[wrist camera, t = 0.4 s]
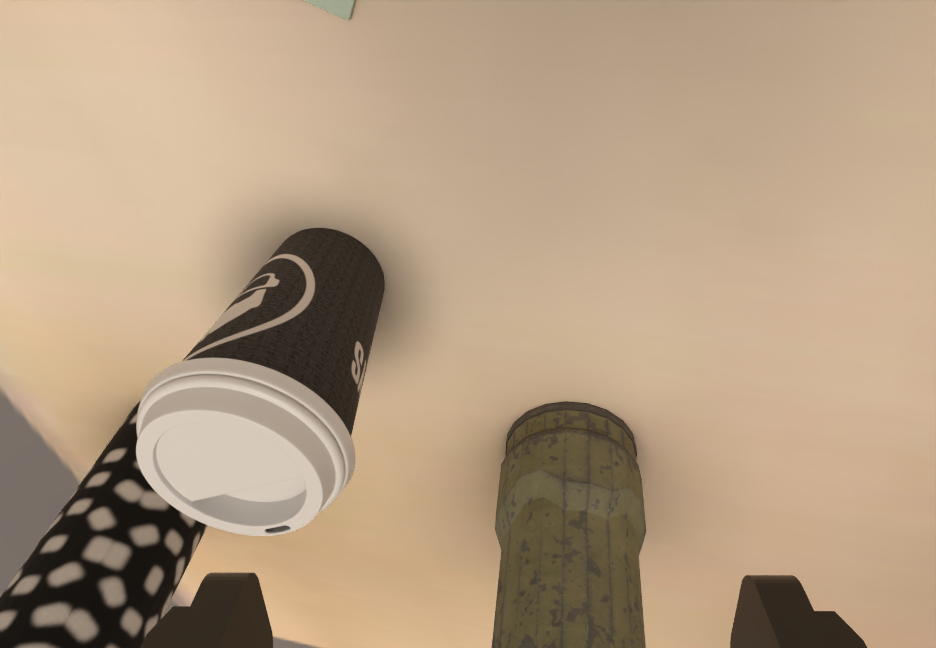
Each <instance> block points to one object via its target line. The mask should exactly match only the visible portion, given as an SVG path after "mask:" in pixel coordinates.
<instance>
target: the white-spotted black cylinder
mask: <svg viewBox="0 0 936 648" xmlns="http://www.w3.org/2000/svg"><path fill="white" fill-rule="evenodd" d="M140 402H141V401H140ZM140 402H139V403H138V404H137V405H136V406H135V407H134V408H133V410H132V411H131V413H130V414H129V416H128V417H127V418H126V420H125V421H124V423H123V424H122V425H121V427H120V428H119V430H118V431H117V433H116V434H115V435H114V437H113V438H112V440H111V441H110V443H109V444H108V445H107V447H106V448H105V450H104V451H103V452H102V454H101V455H100V457H99V458H98V460H97V461H96V462H95V464H94V465H93V467H92V468H91V469H90V471H89V472H88V474H87V475H86V477H85V478H84V479H83V481H82V482H81V484H80V485H79V486H78V488H77V489H76V491H75V492H74V494H73V495H72V497H71V498H70V499H69V501H68V502H67V504H66V505H65V506H64V508H63V509H62V511H61V512H60V513H59V515H58V516H57V518H56V519H55V521H54V522H53V523H52V525H51V526H50V528H49V529H48V530H47V532H46V533H45V535H44V536H43V538H42V539H41V540H40V542H39V543H38V545H37V546H36V548H35V549H34V550H33V552H32V553H31V555H30V556H29V557H28V559H27V560H26V562H25V563H24V564H23V566H22V567H21V569H20V570H19V572H18V573H17V574H16V576H15V577H14V579H13V580H12V582H11V583H10V584H9V586H8V587H7V589H6V590H5V592H4V593H3V594H2V596H1V597H0V648H140V647H141V645H142V643H143V641H144V639H145V637H146V635H147V633H148V632H149V631H150V630H151V629H152V628H153V627H154V626H155V625H156V624H157V623H158V622H159V621H160V620H161V618H162V616H163V614H164V612H165V610H166V608H167V606H168V604H169V602H170V600H171V598H172V596H173V594H174V592H175V590H176V588H177V586H178V584H179V582H180V580H181V578H182V576H183V574H184V572H185V570H186V568H187V566H188V564H189V562H190V560H191V558H192V556H193V554H194V552H195V550H196V548H197V546H198V544H199V542H200V540H201V538H202V536H203V534H204V532H205V530H206V528H207V526H208V525H206V524H204V523H201V522H199V521H197V520H195V519H193V518H191V517H189V516H187V515H185V514H184V513H182V512H180V511H179V510H177V509H176V508H174V507H173V506H172V505H170V504H169V503H168V502H166V501H165V500H164V499H163V498H162V497H161V496H160V495H159V494H158V493H157V492H156V491H155V490H154V489H153V488H152V487H151V486H150V484H149V483H148V482H147V480H146V479H145V477H144V476H143V474H142V472H141V470H140V467H139V465H138V461H137V457H136V444H137V440H138V437H137V430H136V424H137V413H138V408H139V405H140Z"/></svg>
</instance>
